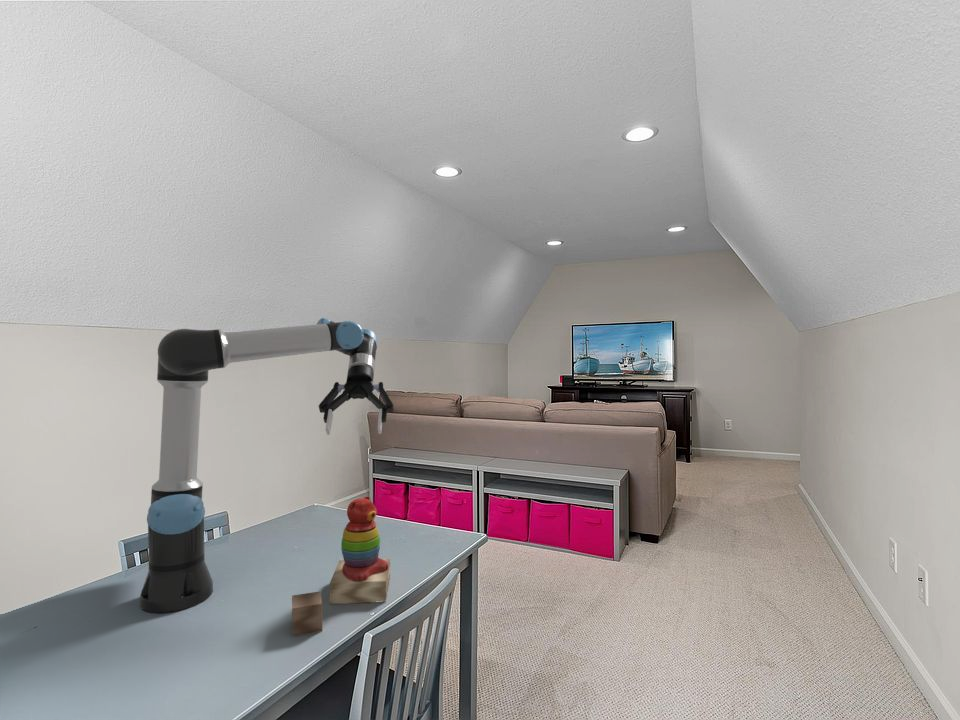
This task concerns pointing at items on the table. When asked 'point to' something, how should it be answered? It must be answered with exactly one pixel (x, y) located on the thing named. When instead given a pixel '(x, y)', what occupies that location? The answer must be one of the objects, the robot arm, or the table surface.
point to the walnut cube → (306, 613)
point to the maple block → (359, 587)
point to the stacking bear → (361, 542)
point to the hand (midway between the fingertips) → (353, 431)
